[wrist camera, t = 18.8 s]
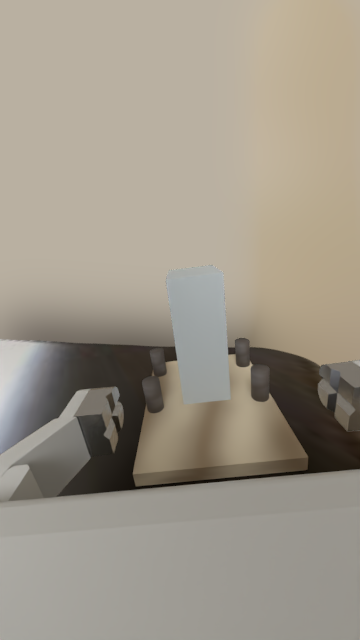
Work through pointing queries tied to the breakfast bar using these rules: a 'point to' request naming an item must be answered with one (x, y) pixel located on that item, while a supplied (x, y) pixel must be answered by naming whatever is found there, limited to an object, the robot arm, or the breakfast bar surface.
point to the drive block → (200, 332)
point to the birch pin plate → (213, 427)
